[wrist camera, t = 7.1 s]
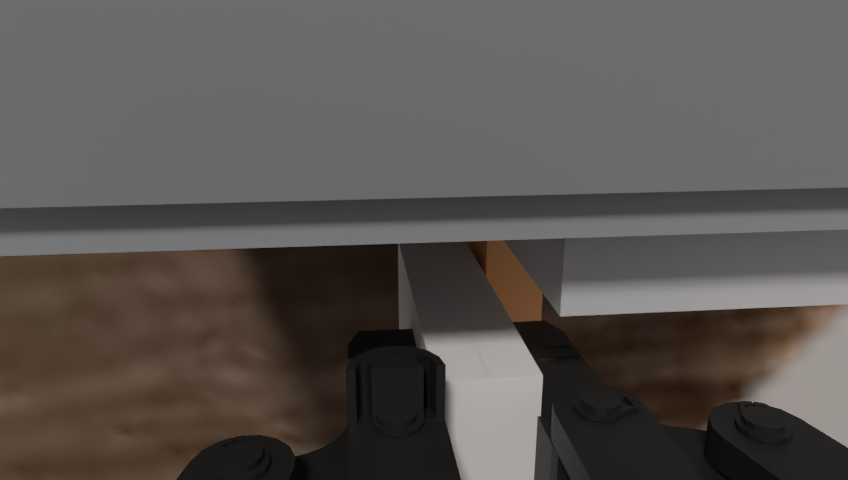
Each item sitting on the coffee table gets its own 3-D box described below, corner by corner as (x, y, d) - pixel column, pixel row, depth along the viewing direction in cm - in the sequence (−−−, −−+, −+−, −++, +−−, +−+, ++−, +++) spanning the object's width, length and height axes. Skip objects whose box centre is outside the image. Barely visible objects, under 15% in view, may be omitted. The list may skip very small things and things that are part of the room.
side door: (455, 299, 18) (541, 515, 10) (458, 128, 17) (558, 216, 9) (685, 290, 19) (942, 485, 11) (706, 124, 17) (1018, 203, 9)
